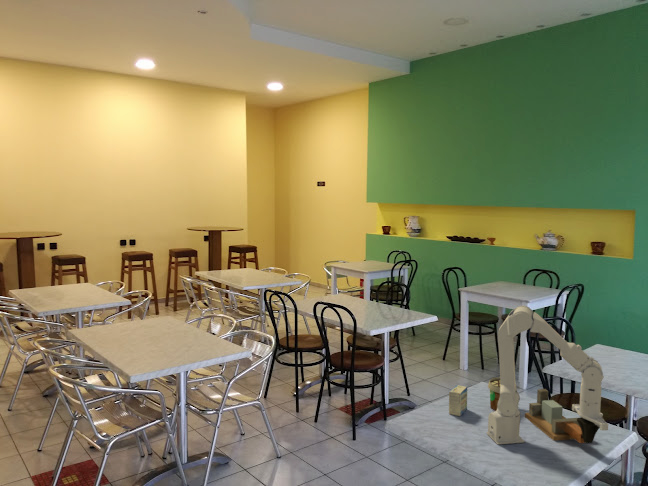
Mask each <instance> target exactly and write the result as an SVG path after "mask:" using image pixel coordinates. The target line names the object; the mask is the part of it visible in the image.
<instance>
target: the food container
mask: <svg viewBox="0 0 648 486" xmlns="http://www.w3.org/2000/svg"><path fill="white" fill-rule="evenodd" d="M500 385H501V383H500V376H499V377H492V378H491V379H489V381H488V383H487V388H488V389H489V403H490V406H489V407H490V409H491V410H492V411H493V412H495V411H496V410H497V404H498V401H499V398H500Z"/></svg>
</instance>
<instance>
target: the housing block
mask: <svg viewBox="0 0 648 486" xmlns="http://www.w3.org/2000/svg"><path fill="white" fill-rule="evenodd" d="M556 402H557V401H555V400H554V399H548V400H544V401H542V414H541V417H542V418H543V419H545V420H546V421H547V422H549V423H550V424H552V419H562V416H563V409H564V408H563V406H562V405H561V404H560V403H558V402H557V403H556Z"/></svg>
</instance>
